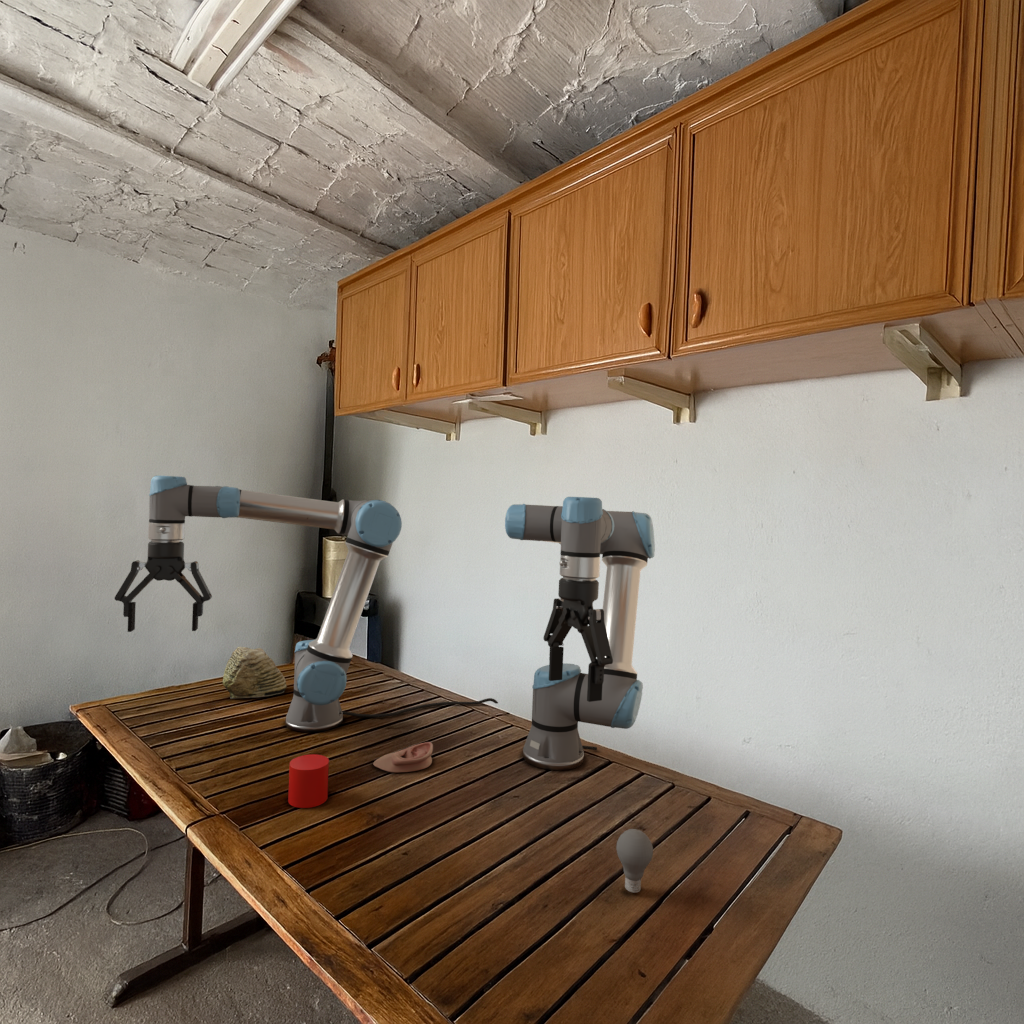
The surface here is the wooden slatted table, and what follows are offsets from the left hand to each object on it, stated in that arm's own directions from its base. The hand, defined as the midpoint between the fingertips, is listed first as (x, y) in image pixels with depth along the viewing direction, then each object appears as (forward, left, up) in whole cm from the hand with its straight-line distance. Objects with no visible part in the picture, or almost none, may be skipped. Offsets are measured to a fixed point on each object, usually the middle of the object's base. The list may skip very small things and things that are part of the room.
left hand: (163, 630), depth 150 cm
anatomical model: (-37, +45, -30) cm, 65 cm away
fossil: (-39, -27, -30) cm, 56 cm away
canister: (-12, +44, -30) cm, 54 cm away
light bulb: (-30, +110, -30) cm, 118 cm away
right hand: (-36, +93, -1) cm, 99 cm away
